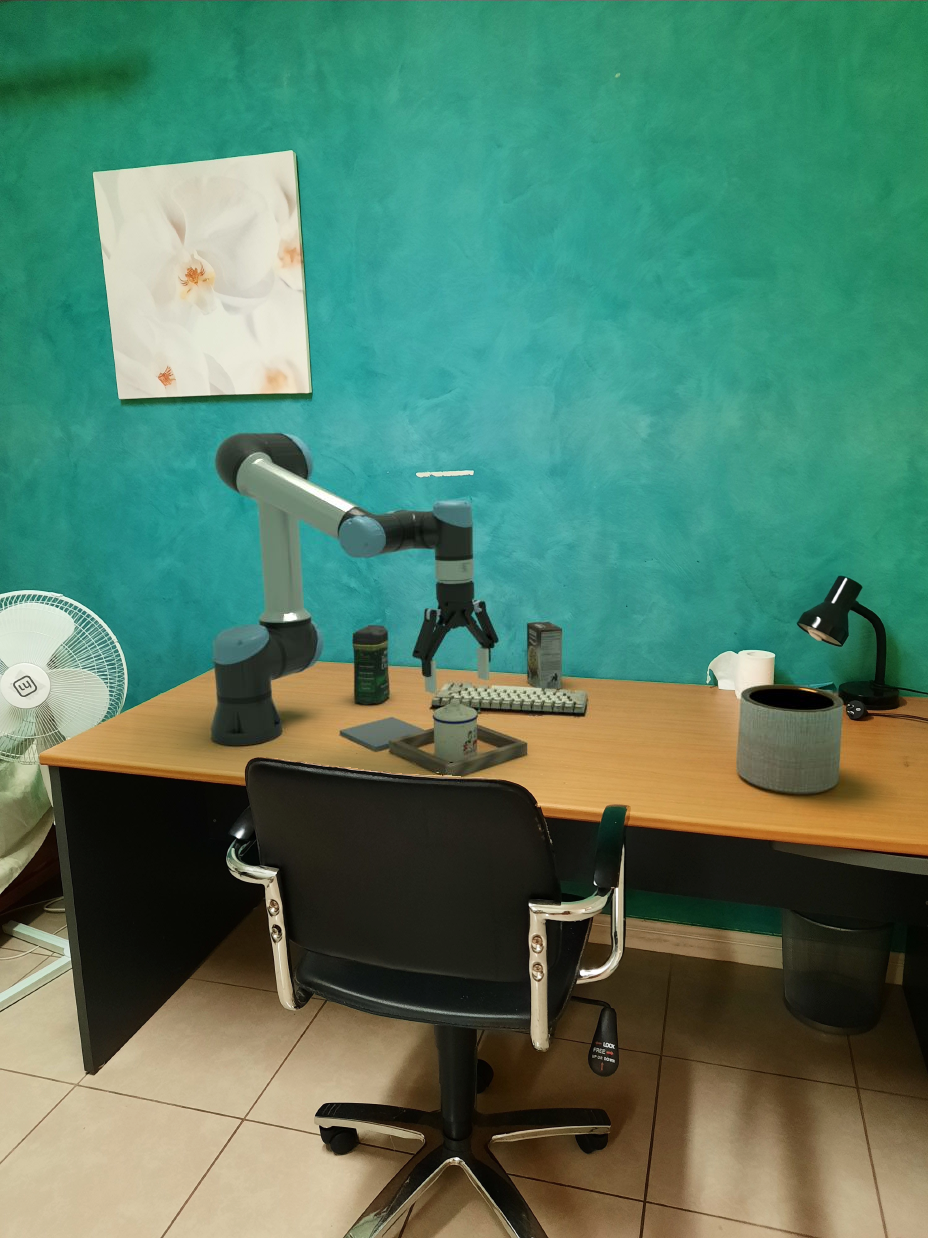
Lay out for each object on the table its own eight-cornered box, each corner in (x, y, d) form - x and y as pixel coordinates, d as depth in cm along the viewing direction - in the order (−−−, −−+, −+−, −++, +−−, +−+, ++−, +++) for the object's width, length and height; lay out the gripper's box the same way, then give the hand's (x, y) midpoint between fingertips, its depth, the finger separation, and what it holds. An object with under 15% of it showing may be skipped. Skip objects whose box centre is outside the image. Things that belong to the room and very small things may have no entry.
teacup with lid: (472, 765, 165) (471, 708, 162) (427, 762, 167) (426, 705, 165) (486, 744, 176) (485, 691, 174) (444, 741, 178) (443, 688, 176)
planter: (723, 784, 154) (727, 702, 151) (750, 754, 168) (754, 679, 165) (827, 805, 144) (833, 718, 141) (846, 772, 158) (852, 692, 155)
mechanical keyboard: (589, 697, 210) (589, 684, 210) (586, 721, 192) (586, 707, 191) (441, 692, 217) (441, 679, 217) (424, 715, 199) (424, 701, 198)
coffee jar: (380, 706, 203) (377, 631, 200) (350, 704, 205) (346, 630, 202) (394, 695, 212) (392, 623, 209) (365, 693, 214) (362, 622, 211)
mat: (375, 751, 173) (375, 747, 173) (339, 734, 183) (339, 730, 183) (429, 736, 182) (429, 731, 182) (392, 721, 192) (392, 716, 192)
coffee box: (525, 682, 222) (525, 622, 219) (548, 680, 224) (548, 620, 221) (539, 691, 214) (539, 629, 210) (562, 689, 215) (563, 627, 212)
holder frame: (450, 779, 158) (450, 767, 157) (389, 751, 173) (388, 740, 172) (527, 754, 170) (527, 742, 170) (464, 730, 185) (463, 719, 185)
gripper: (415, 590, 154) (419, 702, 158) (514, 575, 169) (516, 677, 173) (391, 586, 159) (396, 694, 163) (489, 571, 175) (491, 670, 179)
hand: (457, 685), depth 168 cm, fingers open, 13 cm apart
